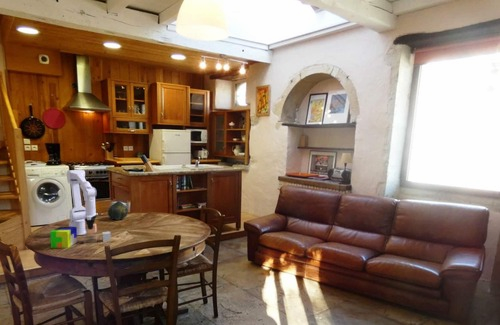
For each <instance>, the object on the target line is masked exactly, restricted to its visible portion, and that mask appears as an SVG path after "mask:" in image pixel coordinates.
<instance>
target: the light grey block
mask: <svg viewBox="0 0 500 325" xmlns="http://www.w3.org/2000/svg"><path fill="white" fill-rule="evenodd" d="M101 241H102V242H103V243H107V242H111V241H112V234H111V231H110V230H109V231H103V232H101Z"/></svg>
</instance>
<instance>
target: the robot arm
mask: <svg viewBox="0 0 500 325" xmlns="http://www.w3.org/2000/svg"><path fill="white" fill-rule="evenodd" d="M85 177H86V171H85V170H84V169H74V170H73V169H72V170H70V169H69V170H67V172H66V180H67V183H68V184H70V188H71V195H72V196H71V197H72V204H73V207H72V208H71V209H70V210H69V220H70V221H69V223H68V227H77V236H81V235H82V236H84V235H86V234H87V233H88V231H87V230H86V227H87V226H88V229H93V224H95V222H96V217H98V216H97V215H99V214H98V212H96V211H97V210H96V209H97V208H96V207H97V206H96V197H97V195H98V194H97V189H96V188H95V187H94V186H92V184H91V183H90V182H89V181H87V180H86V178H85ZM81 191H82V192H83V193H82V195H83V200H84V204H85V206H83V205H82V198H81Z"/></svg>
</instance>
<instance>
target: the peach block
mask: <svg viewBox="0 0 500 325" xmlns="http://www.w3.org/2000/svg"><path fill="white" fill-rule="evenodd" d="M86 228H87V230H86V231H87V235H88V234H96V233H97V230H98V229H97V223H94V224H93V229H88V226H87V225H86Z"/></svg>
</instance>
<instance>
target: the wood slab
mask: <svg viewBox="0 0 500 325" xmlns="http://www.w3.org/2000/svg"><path fill="white" fill-rule="evenodd" d="M98 240H99V234H93V235H86V236H85V237H84V239H83V244H84V243H86V244H95V243H97V242H98Z"/></svg>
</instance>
